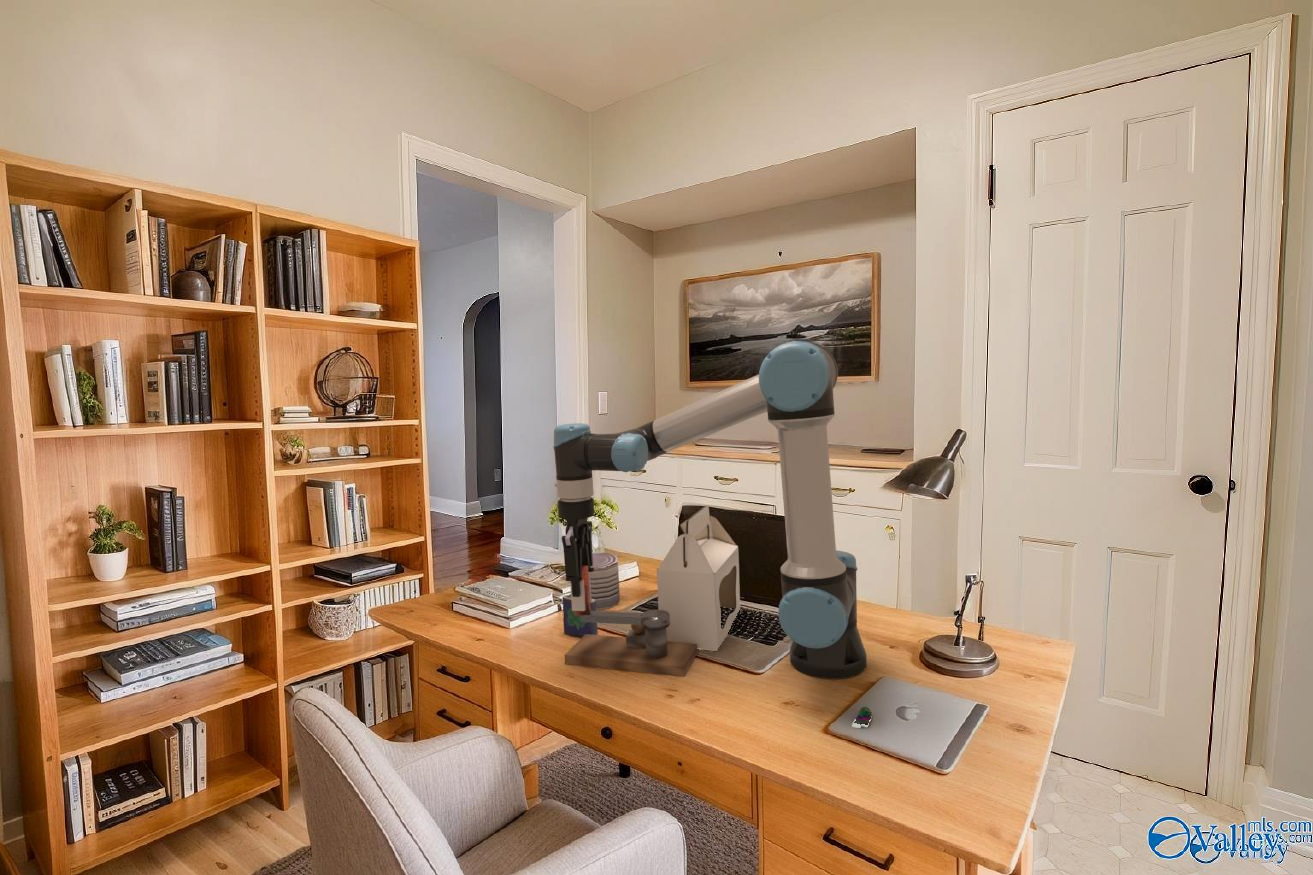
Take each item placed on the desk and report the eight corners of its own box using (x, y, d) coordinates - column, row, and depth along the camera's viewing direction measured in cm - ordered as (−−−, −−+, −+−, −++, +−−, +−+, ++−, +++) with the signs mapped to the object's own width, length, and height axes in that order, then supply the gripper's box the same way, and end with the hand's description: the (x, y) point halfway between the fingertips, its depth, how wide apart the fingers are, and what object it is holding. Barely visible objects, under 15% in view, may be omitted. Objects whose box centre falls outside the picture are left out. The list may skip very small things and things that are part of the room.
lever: (672, 619, 138) (670, 564, 137) (666, 630, 132) (664, 573, 131) (579, 614, 143) (576, 562, 141) (569, 625, 137) (566, 570, 136)
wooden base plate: (697, 652, 140) (696, 616, 140) (684, 676, 130) (682, 637, 129) (586, 642, 148) (584, 607, 148) (565, 663, 138) (562, 626, 137)
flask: (600, 636, 152) (597, 591, 150) (593, 641, 149) (590, 595, 148) (568, 630, 156) (565, 586, 155) (560, 634, 154) (557, 590, 152)
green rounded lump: (854, 717, 113) (854, 704, 113) (871, 721, 112) (871, 707, 112) (848, 729, 110) (848, 715, 110) (866, 733, 108) (866, 719, 108)
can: (629, 600, 175) (627, 556, 173) (599, 613, 166) (597, 567, 165) (598, 592, 182) (596, 550, 180) (568, 604, 173) (565, 560, 172)
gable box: (689, 610, 166) (685, 501, 163) (740, 615, 161) (737, 503, 158) (659, 646, 145) (653, 522, 142) (717, 652, 140) (712, 525, 137)
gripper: (571, 490, 145) (577, 592, 148) (544, 506, 129) (551, 621, 132) (603, 489, 144) (609, 592, 146) (580, 506, 127) (587, 622, 130)
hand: (581, 606), depth 139 cm, fingers closed on lever, 4 cm apart
